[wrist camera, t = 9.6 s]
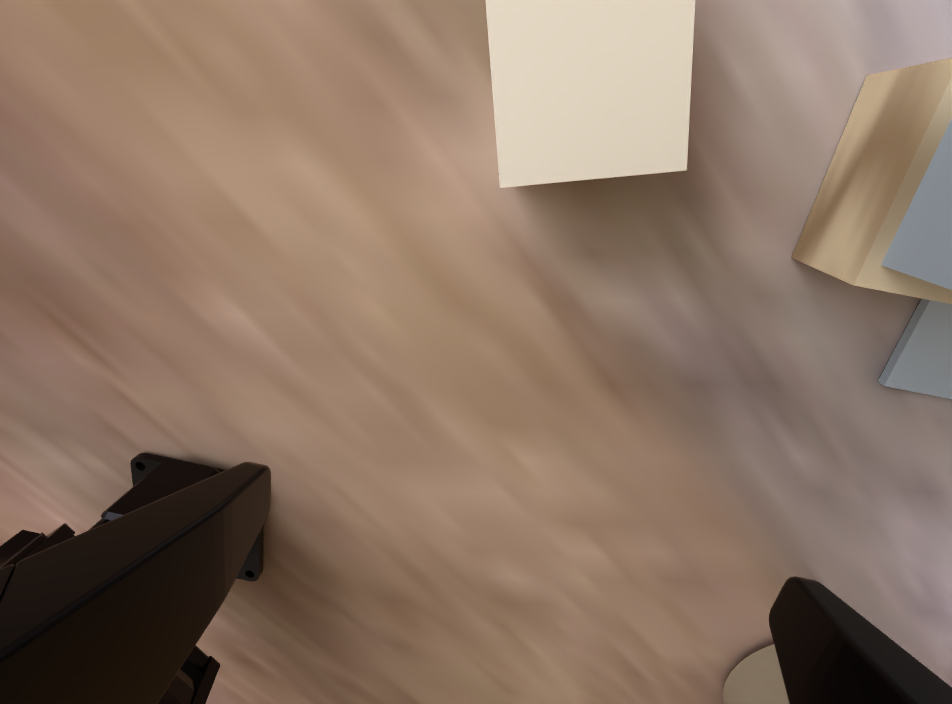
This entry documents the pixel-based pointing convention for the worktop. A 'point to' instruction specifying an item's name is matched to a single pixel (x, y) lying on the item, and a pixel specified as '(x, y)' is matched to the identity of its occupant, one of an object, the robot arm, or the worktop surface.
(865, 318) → the worktop surface
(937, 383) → the tile
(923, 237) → the blue cube
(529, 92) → the cream cube
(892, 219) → the birch block
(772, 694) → the travel mug
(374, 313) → the worktop surface
